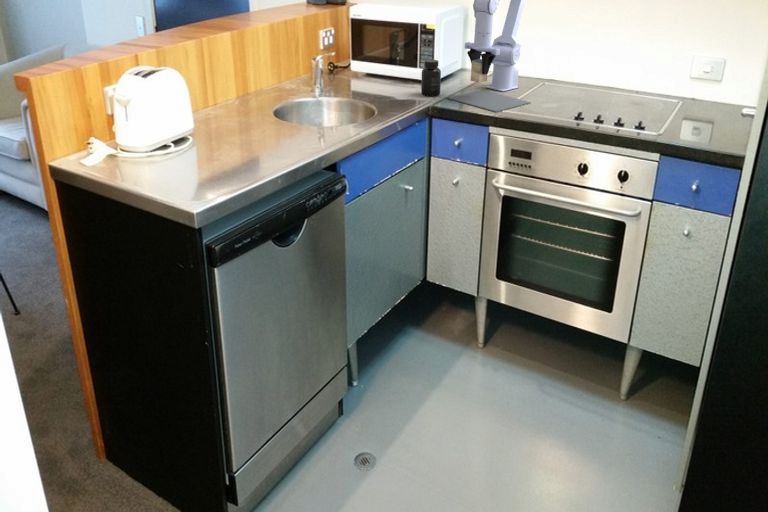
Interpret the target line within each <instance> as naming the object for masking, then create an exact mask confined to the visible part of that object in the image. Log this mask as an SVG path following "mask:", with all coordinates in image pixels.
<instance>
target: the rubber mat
mask: <svg viewBox="0 0 768 512" xmlns="http://www.w3.org/2000/svg"><path fill="white" fill-rule="evenodd" d="M448 99H449V100H452V101H455V102H458V103H462V104H465V105H468V106H473V107H476V108H480V109H483V110H486V111H489V112H493V113H500V112H503V110H504V111H507V109H508V110H510V109H515V108H519V107H522V106H521V105H523V106H526V105H529V104H528V103H530V104H531V101H527V100H523V99H519V98H515V97H513V96H508V95H505V94H501V93H497V92H494V91H489V90H486V89H479V90H476V91H472V92H466V93H463V94H459V95H454V96H450V97H448ZM525 104H526V105H525ZM518 106H519V107H518Z"/></svg>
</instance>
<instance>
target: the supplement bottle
mask: <svg viewBox="0 0 768 512" xmlns="http://www.w3.org/2000/svg"><path fill="white" fill-rule="evenodd" d="M441 70H442V69H441V68H439V60H438V59H425V60H424V68H422V70H421V83H420V84H421V86H420V87H421V88H420V91H421V92H420V93H421V95H422V96H423V97H430V98H434V97H438V96H440V95H441V83H442V82H441V80H442V71H441Z"/></svg>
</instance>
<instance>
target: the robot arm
mask: <svg viewBox="0 0 768 512" xmlns="http://www.w3.org/2000/svg"><path fill="white" fill-rule="evenodd" d="M500 1H501V0H474V1H473V4H472V8H473V12H474V13H473V16H474V18H475V23H474V38H473V39H474V40H473V42H470V41H468V42H464V50H465V49H466V50H467V49H468V51H466V53H467V56H468V58H469V60H470V63H471V65H472V60H476V59H482V73H483V74H484V75H485V74H487V75H489V71H490V68H491V66H492V64H493V69H492V79H491V85H487V86H486V88H488V89H491V90H495V91H499V92H506V91H511V90H514V89H518V88H520V86H518V82H519V81H518V80H519V70H520V69H519V66H518V65H517V63H518V62H519V59H520V56H521V55H520V54H521V53H520V52H521V47H522V45H521V43H520V41H519V40H517V38H516V36H517V32H518V28H519V26H520V25H519V24H520V22H521V18H522V14H523V10H524V7H525V2H526V0H510V1H509V6H508V9H507V12H506V16H505V21H504V24H503V28H502V32H501V34H500V35H499V36H498V37H496V38H494V40H493V42H492V32H493V23H494V22H493V21H494V20H493V19H494V13H496V11H497V9H498V6H499V4H500V3H499V2H500ZM491 44H492V45H491Z"/></svg>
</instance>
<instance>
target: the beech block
mask: <svg viewBox="0 0 768 512" xmlns="http://www.w3.org/2000/svg"><path fill="white" fill-rule="evenodd" d="M470 68H471V69H470V81H471V82H474V83H476V84H477V83H478V84H481V83H484V82H487V81H488V74H485V75H484V74H483V73H482V58H480V59H476V60H472V64H471V67H470Z"/></svg>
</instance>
